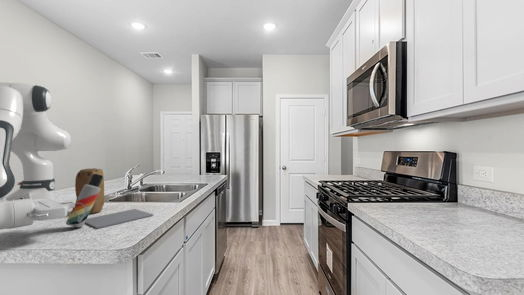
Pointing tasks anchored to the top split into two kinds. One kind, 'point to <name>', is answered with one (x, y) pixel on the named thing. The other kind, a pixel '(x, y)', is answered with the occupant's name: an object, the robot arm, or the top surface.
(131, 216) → the mat
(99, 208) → the block
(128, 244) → the top surface
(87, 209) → the lotion bottle
